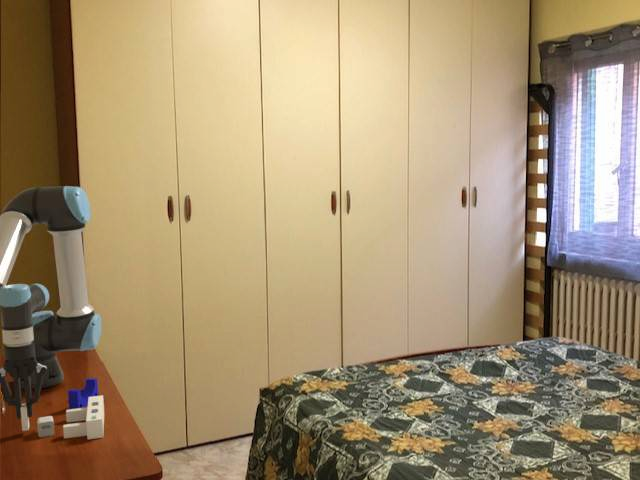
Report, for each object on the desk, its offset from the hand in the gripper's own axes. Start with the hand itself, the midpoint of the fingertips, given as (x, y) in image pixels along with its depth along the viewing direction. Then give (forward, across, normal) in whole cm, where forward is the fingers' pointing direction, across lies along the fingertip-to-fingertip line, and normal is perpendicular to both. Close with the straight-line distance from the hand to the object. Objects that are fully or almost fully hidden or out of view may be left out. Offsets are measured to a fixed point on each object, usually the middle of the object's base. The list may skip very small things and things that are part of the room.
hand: (25, 428), depth 192 cm
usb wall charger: (+2, +5, 0) cm, 5 cm away
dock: (+1, +16, 0) cm, 16 cm away
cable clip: (+2, +13, +20) cm, 24 cm away
